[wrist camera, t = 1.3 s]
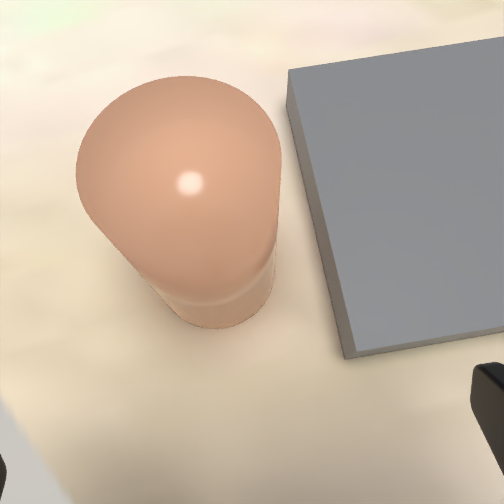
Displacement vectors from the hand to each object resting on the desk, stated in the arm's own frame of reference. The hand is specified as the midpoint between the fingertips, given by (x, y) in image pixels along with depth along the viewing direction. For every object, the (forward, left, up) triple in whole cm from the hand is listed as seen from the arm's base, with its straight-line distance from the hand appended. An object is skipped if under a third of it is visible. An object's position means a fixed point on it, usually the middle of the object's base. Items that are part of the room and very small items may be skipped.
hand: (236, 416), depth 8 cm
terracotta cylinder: (+7, +1, -13) cm, 15 cm away
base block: (+9, -12, -13) cm, 20 cm away
